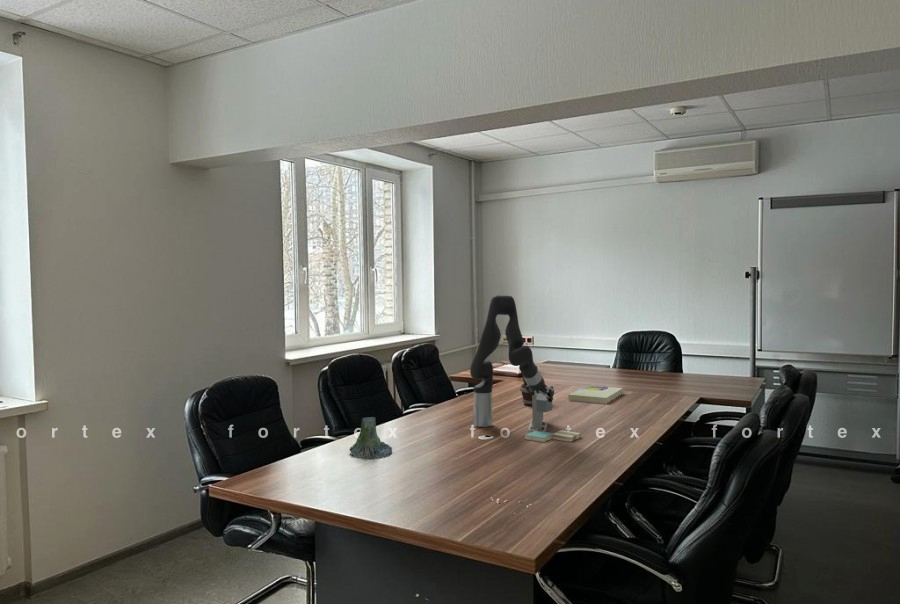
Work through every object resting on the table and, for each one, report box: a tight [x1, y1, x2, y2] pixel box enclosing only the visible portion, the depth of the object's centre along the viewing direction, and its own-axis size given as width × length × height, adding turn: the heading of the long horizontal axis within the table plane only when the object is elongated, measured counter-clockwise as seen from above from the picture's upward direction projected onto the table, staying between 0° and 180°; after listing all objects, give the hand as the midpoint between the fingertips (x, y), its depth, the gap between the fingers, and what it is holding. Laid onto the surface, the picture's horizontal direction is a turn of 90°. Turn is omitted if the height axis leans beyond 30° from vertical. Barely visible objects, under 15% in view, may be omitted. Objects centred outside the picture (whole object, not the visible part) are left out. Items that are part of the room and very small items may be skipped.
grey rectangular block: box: [537, 385, 553, 413], centre depth 298 cm, size 6×5×11 cm
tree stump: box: [349, 416, 393, 460], centre depth 281 cm, size 18×20×18 cm
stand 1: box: [524, 431, 555, 443], centre depth 298 cm, size 10×10×2 cm
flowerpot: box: [519, 375, 532, 407], centre depth 376 cm, size 14×15×20 cm
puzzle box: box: [568, 385, 624, 405], centre depth 394 cm, size 36×5×24 cm
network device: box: [527, 395, 548, 432], centre depth 320 cm, size 26×9×20 cm, turn 168°
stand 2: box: [550, 430, 582, 443], centre depth 298 cm, size 10×10×2 cm
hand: (546, 399), depth 300 cm, fingers closed on grey rectangular block, 5 cm apart
